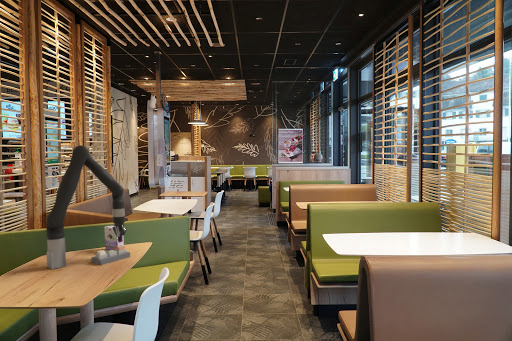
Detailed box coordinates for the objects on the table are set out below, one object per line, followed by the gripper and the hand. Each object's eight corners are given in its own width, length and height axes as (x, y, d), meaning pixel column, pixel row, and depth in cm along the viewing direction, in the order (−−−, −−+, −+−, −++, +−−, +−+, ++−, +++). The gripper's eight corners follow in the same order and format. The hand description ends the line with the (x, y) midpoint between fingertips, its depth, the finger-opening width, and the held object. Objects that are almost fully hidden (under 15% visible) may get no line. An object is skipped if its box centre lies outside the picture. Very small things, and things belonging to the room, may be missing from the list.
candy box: (124, 250, 246) (123, 226, 245) (117, 252, 241) (116, 228, 240) (112, 247, 253) (111, 225, 252) (104, 249, 248) (103, 226, 247)
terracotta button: (119, 251, 227) (119, 247, 227) (116, 250, 229) (116, 246, 229) (124, 249, 230) (124, 246, 229) (121, 249, 232) (121, 245, 232)
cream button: (100, 256, 216) (99, 252, 216) (97, 255, 218) (96, 251, 218) (105, 254, 219) (105, 250, 219) (102, 253, 221) (102, 250, 221)
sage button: (110, 255, 222) (109, 252, 221) (106, 254, 224) (106, 251, 224) (115, 254, 224) (115, 250, 224) (112, 253, 227) (112, 249, 226)
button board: (101, 265, 213) (100, 257, 213) (91, 262, 219) (91, 254, 219) (130, 256, 229) (130, 249, 229) (120, 254, 236) (120, 246, 235)
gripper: (107, 215, 229) (109, 241, 230) (119, 217, 221) (120, 244, 222) (118, 213, 235) (119, 239, 236) (129, 215, 227) (131, 241, 228)
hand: (120, 241), depth 229 cm, fingers closed
